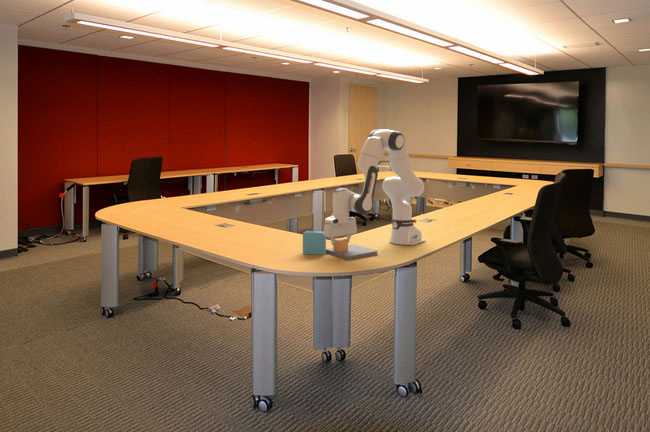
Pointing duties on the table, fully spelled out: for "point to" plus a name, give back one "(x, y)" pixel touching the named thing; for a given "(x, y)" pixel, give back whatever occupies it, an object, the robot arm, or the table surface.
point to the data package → (314, 242)
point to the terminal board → (352, 252)
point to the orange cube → (340, 245)
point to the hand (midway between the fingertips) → (340, 243)
